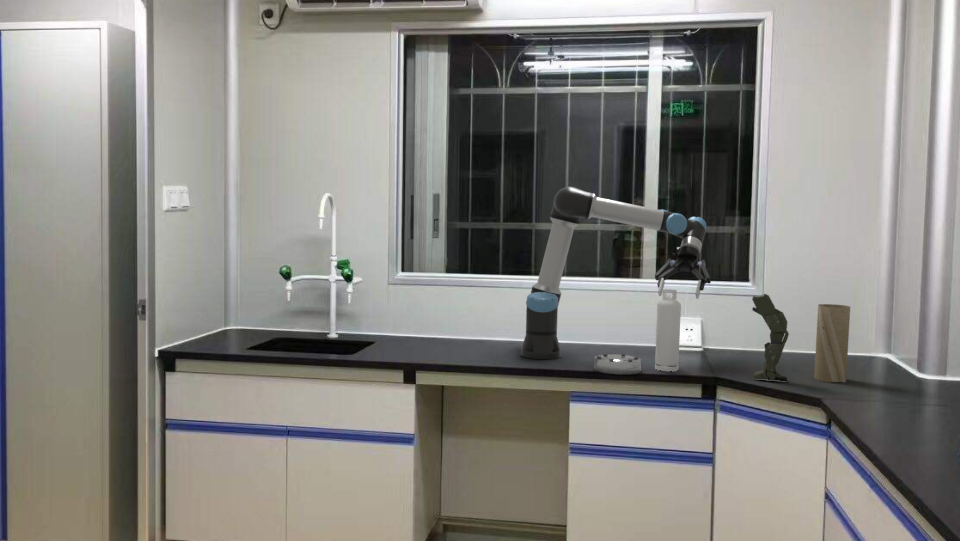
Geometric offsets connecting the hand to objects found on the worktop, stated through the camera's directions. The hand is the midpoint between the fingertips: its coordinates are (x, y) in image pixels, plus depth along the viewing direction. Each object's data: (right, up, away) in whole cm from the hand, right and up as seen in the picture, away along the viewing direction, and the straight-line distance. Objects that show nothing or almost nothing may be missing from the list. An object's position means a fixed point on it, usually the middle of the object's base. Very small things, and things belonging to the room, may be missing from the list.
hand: (677, 295), depth 302 cm
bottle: (-6, -26, -8) cm, 28 cm away
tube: (+47, -28, -20) cm, 58 cm away
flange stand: (-24, -26, -11) cm, 37 cm away
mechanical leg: (+25, -28, -22) cm, 43 cm away
